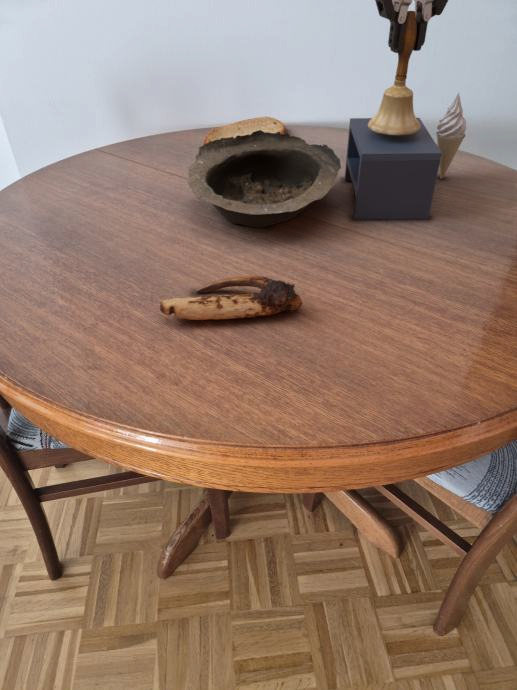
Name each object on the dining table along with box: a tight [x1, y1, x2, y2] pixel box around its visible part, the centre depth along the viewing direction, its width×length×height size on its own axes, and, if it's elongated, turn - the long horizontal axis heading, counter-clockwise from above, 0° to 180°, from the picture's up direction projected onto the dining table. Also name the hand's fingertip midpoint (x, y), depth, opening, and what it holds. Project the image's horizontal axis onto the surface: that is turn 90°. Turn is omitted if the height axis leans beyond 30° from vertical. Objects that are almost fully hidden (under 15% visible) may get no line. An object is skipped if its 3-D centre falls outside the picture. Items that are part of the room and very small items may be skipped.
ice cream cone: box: [435, 92, 467, 179], centre depth 96 cm, size 5×5×15 cm
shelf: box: [344, 117, 442, 221], centre depth 92 cm, size 12×16×11 cm
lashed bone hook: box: [159, 275, 303, 321], centre depth 70 cm, size 9×5×18 cm
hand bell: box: [368, 10, 421, 135], centre depth 82 cm, size 8×8×16 cm
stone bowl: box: [187, 130, 342, 228], centre depth 90 cm, size 25×25×9 cm
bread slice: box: [202, 116, 287, 146], centre depth 115 cm, size 18×18×4 cm
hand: (405, 50), depth 80 cm, fingers closed on hand bell, 2 cm apart
